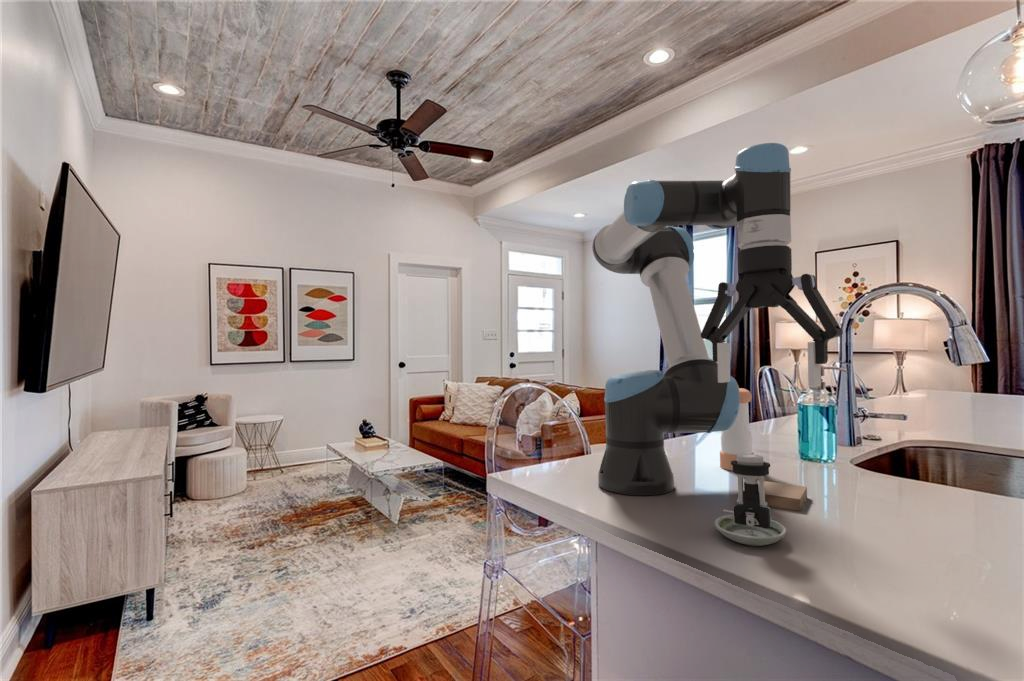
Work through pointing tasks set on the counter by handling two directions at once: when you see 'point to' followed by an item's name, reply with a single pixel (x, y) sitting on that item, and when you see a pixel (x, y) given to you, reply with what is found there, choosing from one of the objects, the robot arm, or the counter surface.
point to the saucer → (750, 532)
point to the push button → (751, 491)
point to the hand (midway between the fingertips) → (766, 384)
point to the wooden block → (784, 495)
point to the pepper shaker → (737, 434)
